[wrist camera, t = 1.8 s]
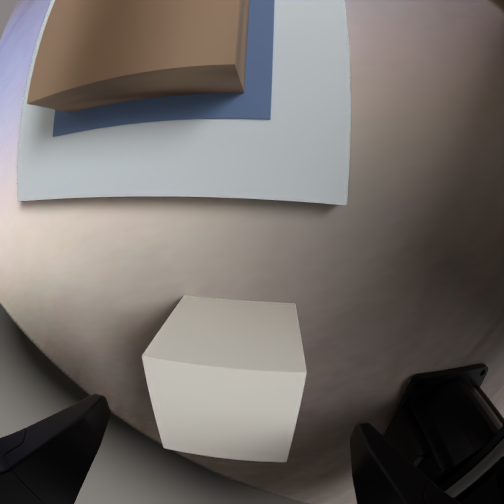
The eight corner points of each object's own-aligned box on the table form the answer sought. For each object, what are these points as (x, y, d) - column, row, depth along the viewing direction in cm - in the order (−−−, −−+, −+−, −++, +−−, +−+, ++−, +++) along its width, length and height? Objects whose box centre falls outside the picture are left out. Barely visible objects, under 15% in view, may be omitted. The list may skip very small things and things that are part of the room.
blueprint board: (329, -64, 7) (339, -106, 3) (340, 203, 11) (373, 215, 7) (74, -28, 8) (44, -52, 4) (29, 199, 12) (-23, 210, 8)
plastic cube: (295, 302, 13) (306, 372, 8) (284, 386, 14) (286, 462, 9) (184, 294, 13) (141, 355, 8) (190, 378, 14) (163, 448, 9)
